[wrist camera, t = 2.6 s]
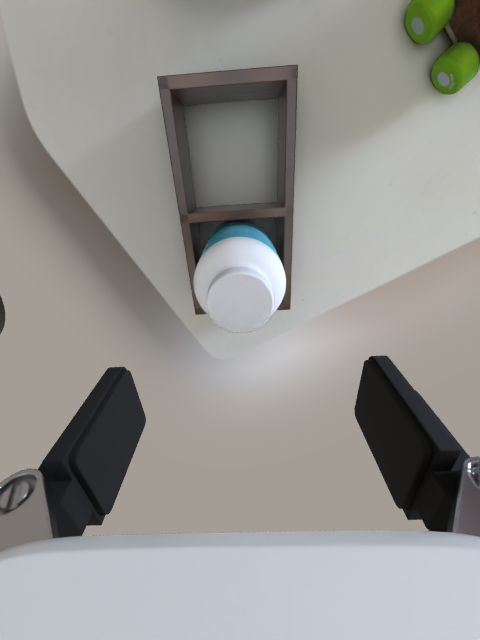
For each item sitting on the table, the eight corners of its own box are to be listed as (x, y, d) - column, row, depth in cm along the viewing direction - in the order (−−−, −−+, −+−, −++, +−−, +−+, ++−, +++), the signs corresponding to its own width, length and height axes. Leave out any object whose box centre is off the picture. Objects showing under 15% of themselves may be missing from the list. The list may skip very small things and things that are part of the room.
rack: (201, 296, 32) (195, 314, 28) (172, 94, 23) (156, 76, 19) (283, 291, 32) (290, 309, 28) (287, 85, 23) (298, 64, 18)
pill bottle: (198, 225, 28) (169, 262, 17) (266, 210, 28) (286, 237, 16) (216, 289, 32) (202, 356, 20) (276, 277, 31) (299, 339, 19)
